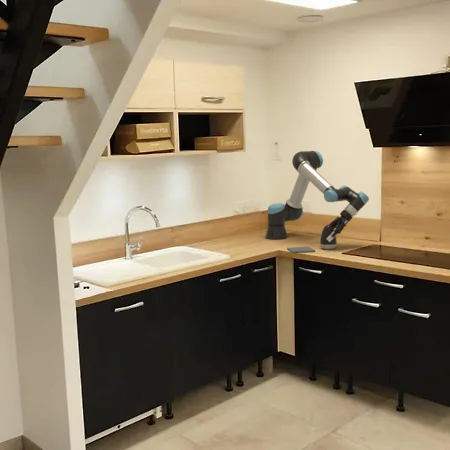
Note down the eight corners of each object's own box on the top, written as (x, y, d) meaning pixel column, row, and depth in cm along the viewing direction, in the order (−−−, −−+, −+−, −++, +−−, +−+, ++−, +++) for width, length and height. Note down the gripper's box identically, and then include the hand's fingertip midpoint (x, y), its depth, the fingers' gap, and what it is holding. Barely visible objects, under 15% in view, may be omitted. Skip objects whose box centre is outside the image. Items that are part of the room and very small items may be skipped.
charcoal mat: (287, 249, 361) (287, 247, 361) (308, 248, 363) (308, 246, 363) (292, 253, 348) (292, 251, 348) (315, 252, 351) (315, 250, 350)
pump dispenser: (336, 250, 354) (337, 225, 351) (319, 250, 356) (319, 225, 353) (337, 247, 363) (337, 223, 361) (320, 247, 366) (320, 223, 363)
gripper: (360, 219, 347) (335, 246, 347) (345, 214, 371) (322, 239, 371) (351, 211, 346) (326, 237, 346) (337, 207, 369) (314, 231, 369)
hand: (324, 238), depth 358 cm, fingers open, 12 cm apart
